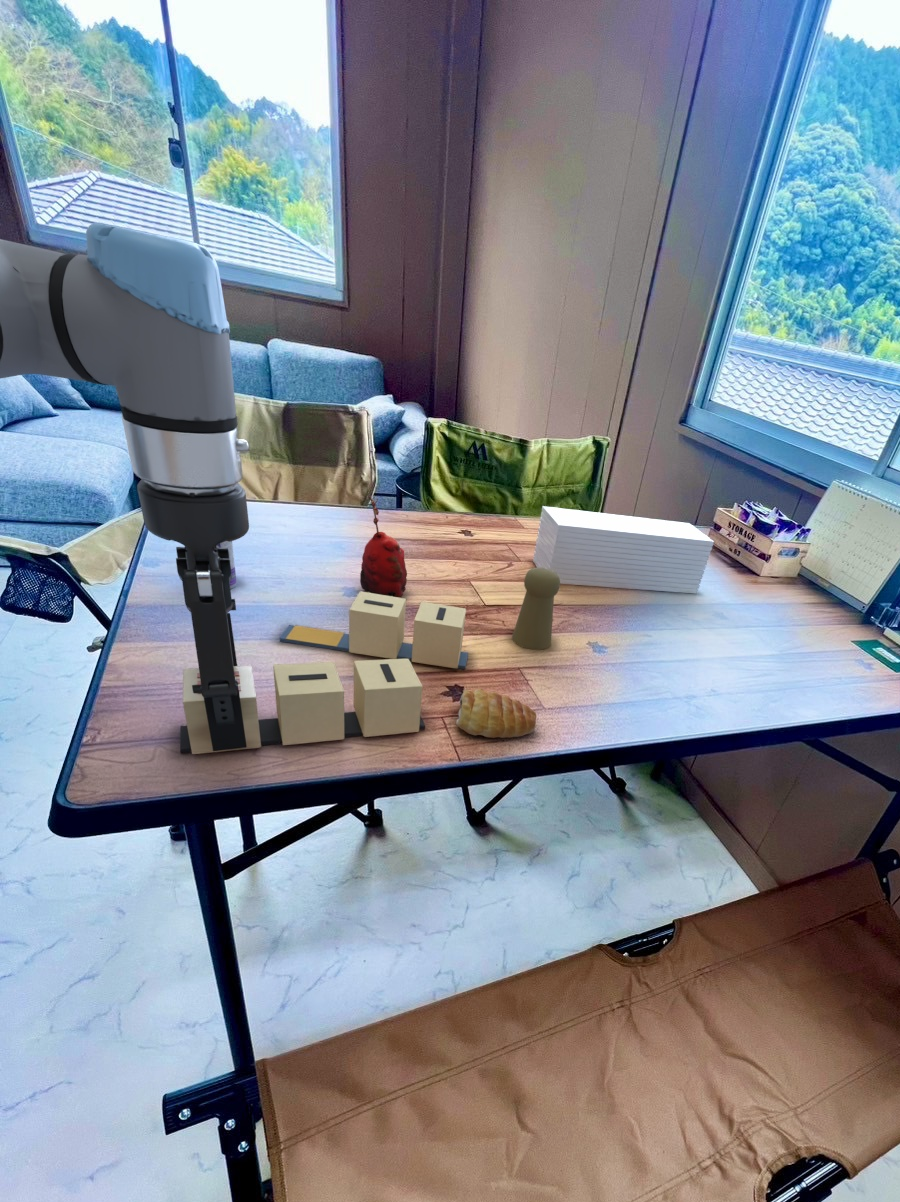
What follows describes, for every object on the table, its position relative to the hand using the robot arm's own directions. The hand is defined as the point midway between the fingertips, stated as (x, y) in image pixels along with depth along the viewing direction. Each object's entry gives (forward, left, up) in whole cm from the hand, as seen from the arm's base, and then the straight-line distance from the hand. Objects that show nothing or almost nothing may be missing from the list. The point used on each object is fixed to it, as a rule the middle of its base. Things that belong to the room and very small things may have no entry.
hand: (226, 706), depth 61 cm
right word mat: (+10, +23, -4) cm, 25 cm away
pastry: (+26, +9, -4) cm, 28 cm away
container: (-15, +35, -4) cm, 38 cm away
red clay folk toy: (+7, +42, -4) cm, 43 cm away
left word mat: (+7, +3, -4) cm, 9 cm away
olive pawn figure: (+31, +33, -4) cm, 46 cm away
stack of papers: (+48, +67, -4) cm, 83 cm away
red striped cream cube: (0, 0, -3) cm, 3 cm away
